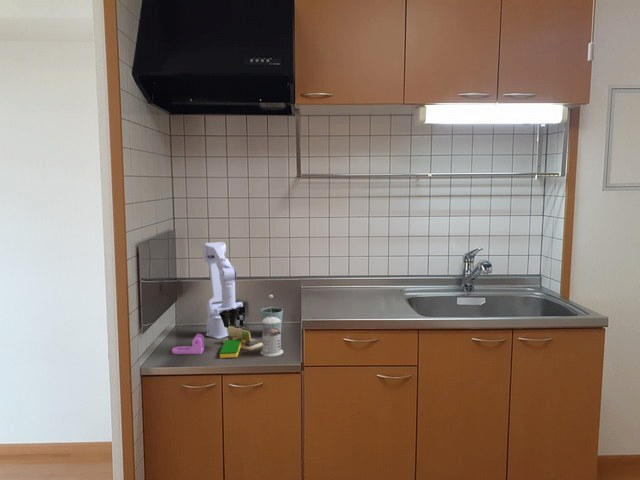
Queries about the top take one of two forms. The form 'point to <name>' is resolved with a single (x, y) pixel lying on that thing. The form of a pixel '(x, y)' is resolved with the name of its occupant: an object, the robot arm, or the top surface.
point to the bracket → (194, 349)
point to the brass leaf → (239, 334)
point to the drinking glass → (272, 313)
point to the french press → (271, 337)
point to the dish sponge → (230, 348)
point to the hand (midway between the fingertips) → (229, 326)
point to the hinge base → (247, 343)
